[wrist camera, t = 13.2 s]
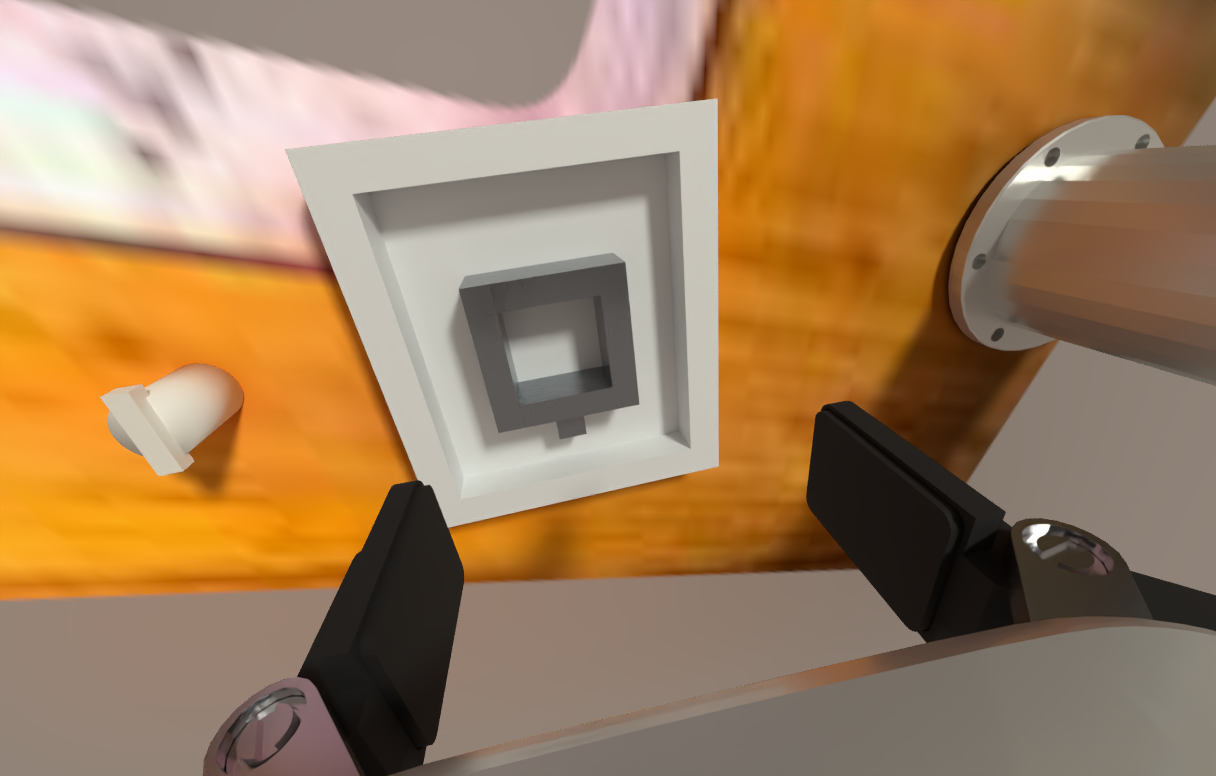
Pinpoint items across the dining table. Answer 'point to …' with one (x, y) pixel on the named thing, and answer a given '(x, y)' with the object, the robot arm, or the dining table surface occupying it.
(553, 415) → the grey square frame
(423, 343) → the tray
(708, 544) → the dining table surface
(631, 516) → the dining table surface
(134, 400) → the white rounded knob
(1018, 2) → the dining table surface
